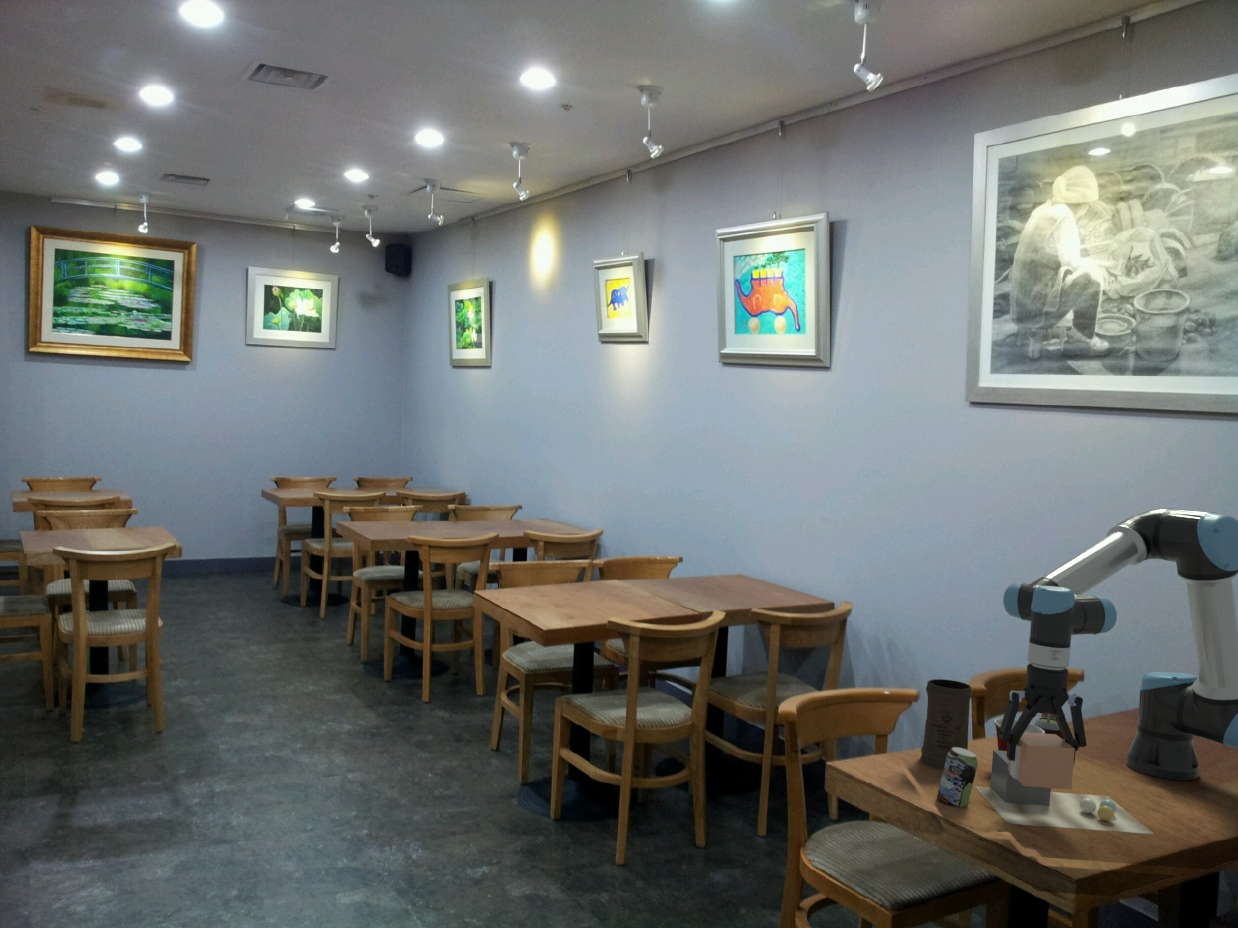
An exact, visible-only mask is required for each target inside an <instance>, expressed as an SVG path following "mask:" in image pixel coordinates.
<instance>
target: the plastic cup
mask: <svg viewBox="0 0 1238 928" xmlns="http://www.w3.org/2000/svg"><path fill="white" fill-rule="evenodd" d="M1002 720H1003V718H999V717H998V718H996V719H994V722H993V723H994V726H995V732H996V738H997V750H999V751H1007V742H1006V741H1003V740H1002V739H1001V738H1000V737H999V736H998V733H999V730H1000V727H1001V724H1002ZM1017 721H1018V719H1015V720H1014V723H1013V726H1012V729H1013V727H1014V725H1015V724H1016V722H1017ZM1012 729H1011V730H1012ZM1025 732H1029V733H1042V734H1045V731H1044V730H1043V729H1041V728H1039V727H1037V726H1035V724H1032V723H1030V724H1029V725H1028V727H1027V728H1026V730H1025Z"/></svg>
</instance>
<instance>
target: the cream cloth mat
mask: <svg viewBox="0 0 1238 928" xmlns="http://www.w3.org/2000/svg"><path fill="white" fill-rule="evenodd" d="M974 788H975V789H976V790H977V791H978V792H979V794H980V795H981V796H982V797H983V798H984V799H985V800H986V802H988V804H990V805H991V807H992V808H993V809H994V810H995V812H996V813H998V815H999V816H1001V818H1002V820H1003V821H1004V822H1006V824H1008V825H1020V826H1021V825H1024V826H1032V827H1033V826H1035V827H1047V828H1050V827H1052V828H1062V829H1065V828H1066V829H1078V830H1088V831H1089V830H1090V831H1091V830H1093V831H1103V832H1104V831H1107V832H1118V833H1133V834H1146V835H1155V833H1154V832H1153V831H1151V830H1150V828H1148V827H1146V826H1145V825H1144V824H1142V823H1141V822H1140V821H1139V820H1138V819H1136V818H1135V817H1134V816H1133V815H1132V814H1130V813H1129V812H1128V811H1126V810H1125V809H1124V808H1123V807H1122V806H1120V805H1119V804H1118V803H1117V802H1116V801H1114V800H1113V799H1112V798H1110V797H1109V796H1108V795H1100V794H1099V795H1097V794H1096V795H1095V794H1085V793H1081V794H1080V793H1068V792H1059V791H1058V792H1057V791H1056V792H1055V791H1051V793H1050V806H1046V805H1032V804H1018V803H1005V802H1004V801H1003V800H1002V799H1001V798H1000V797H999V795H998V794H997V793H996V792H995V791H994V790H993V789H992V788H991V787H986V786H985V787H984V786H974ZM1084 798H1090V799H1092V800H1093V801H1094V802H1095V804H1096V810H1095V811H1094V812H1093V813H1091V814H1087V813H1085V812H1083V811H1082V810H1081V808H1080V802H1081V800H1082V799H1084ZM1106 799H1108V800H1111V801H1113V802H1114V803H1115V805H1116V811H1115V813H1114V818H1113V819H1112V820H1111V821H1103V820H1102V819H1100V818H1099V816H1098V809H1099V807H1100V803H1101V802H1102V801H1103V800H1106Z"/></svg>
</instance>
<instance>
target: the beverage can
mask: <svg viewBox="0 0 1238 928" xmlns="http://www.w3.org/2000/svg"><path fill="white" fill-rule="evenodd" d="M978 765H979V761H978V759H977V754H976V753H975V752H973V751H972V750H969V749H968V750H967V749H963V748H959V747H953V748H952V750H951V751H949V752H948V754H947V758H946V762H945V766H944V770H942V774H941V779H940V783H939V787H938V792H937V794H936V798H937V800H938V801H939V802H940V803H942V804H944V805H946V806H950V807H953V808H963V807H965V808H966V807H967V806H968V805H969V800H970V797H971V794H972V790H973V785H974V781H975V776H976V773H977V770H978Z"/></svg>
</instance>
